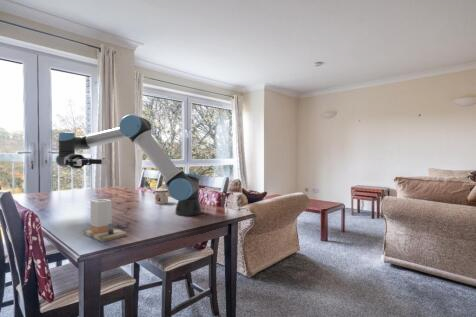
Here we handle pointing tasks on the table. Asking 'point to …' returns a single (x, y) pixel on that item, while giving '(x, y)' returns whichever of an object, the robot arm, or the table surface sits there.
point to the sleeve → (101, 215)
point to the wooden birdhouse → (161, 195)
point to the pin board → (105, 235)
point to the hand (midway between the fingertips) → (95, 162)
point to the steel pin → (110, 228)
